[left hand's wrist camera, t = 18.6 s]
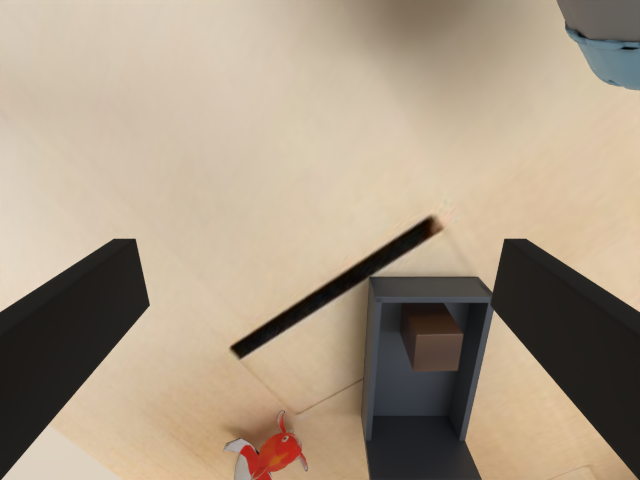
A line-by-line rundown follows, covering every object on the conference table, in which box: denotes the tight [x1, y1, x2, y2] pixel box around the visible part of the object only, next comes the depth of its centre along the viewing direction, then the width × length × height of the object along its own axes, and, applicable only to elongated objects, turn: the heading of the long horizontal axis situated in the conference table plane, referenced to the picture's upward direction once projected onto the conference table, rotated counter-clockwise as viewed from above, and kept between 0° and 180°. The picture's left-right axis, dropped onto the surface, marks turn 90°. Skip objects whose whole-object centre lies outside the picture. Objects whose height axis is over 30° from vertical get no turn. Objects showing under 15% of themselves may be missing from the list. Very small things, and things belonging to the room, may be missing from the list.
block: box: [400, 303, 463, 372], centre depth 40 cm, size 5×5×7 cm
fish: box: [223, 411, 308, 480], centre depth 49 cm, size 11×16×10 cm
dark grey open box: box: [361, 277, 494, 480], centre depth 42 cm, size 24×14×10 cm, turn 0°
